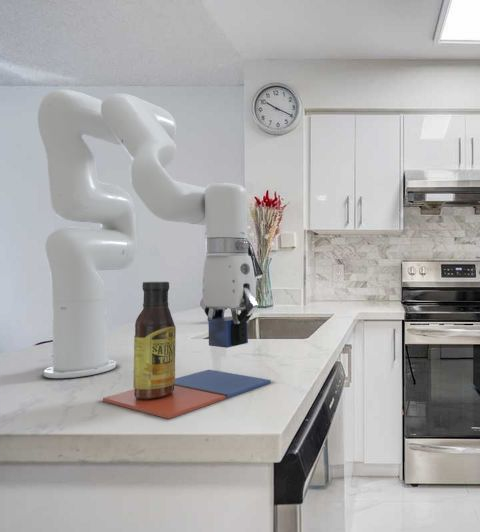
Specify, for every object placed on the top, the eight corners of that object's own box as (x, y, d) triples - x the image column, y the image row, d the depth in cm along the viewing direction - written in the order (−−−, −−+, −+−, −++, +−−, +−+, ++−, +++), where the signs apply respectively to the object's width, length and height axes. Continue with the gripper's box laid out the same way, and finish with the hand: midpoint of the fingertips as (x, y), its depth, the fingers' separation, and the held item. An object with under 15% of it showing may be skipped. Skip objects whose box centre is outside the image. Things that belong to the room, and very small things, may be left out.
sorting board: (102, 401, 71) (102, 397, 71) (208, 372, 90) (208, 368, 90) (168, 419, 63) (168, 414, 63) (270, 382, 82) (270, 379, 82)
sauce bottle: (156, 402, 69) (154, 282, 69) (124, 400, 70) (123, 282, 70) (184, 390, 75) (183, 280, 75) (154, 388, 76) (153, 280, 76)
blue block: (208, 345, 79) (208, 319, 79) (230, 341, 83) (229, 316, 83) (226, 347, 77) (226, 320, 76) (248, 343, 81) (247, 317, 81)
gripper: (274, 248, 79) (275, 343, 79) (213, 250, 87) (215, 336, 87) (243, 247, 72) (244, 351, 73) (180, 249, 80) (181, 343, 80)
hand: (228, 342), depth 80 cm, fingers closed on blue block, 5 cm apart
